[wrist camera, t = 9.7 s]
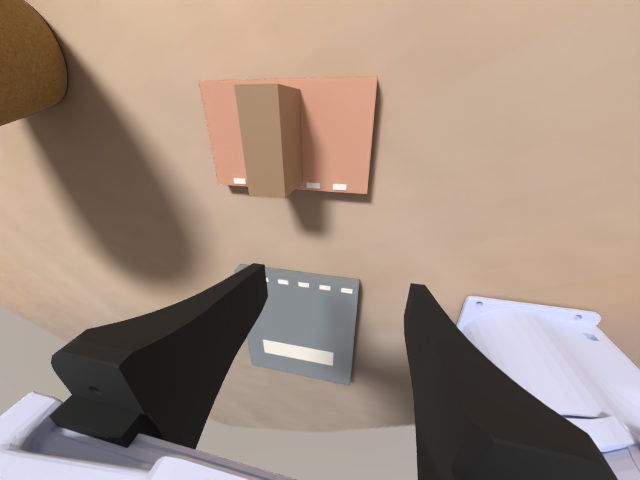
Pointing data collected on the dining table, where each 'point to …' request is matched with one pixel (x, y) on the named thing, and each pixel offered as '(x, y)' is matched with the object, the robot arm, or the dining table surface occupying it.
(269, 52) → the dining table surface
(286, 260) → the dining table surface
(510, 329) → the robot arm
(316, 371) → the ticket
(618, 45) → the dining table surface
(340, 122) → the stub
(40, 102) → the plant pot
